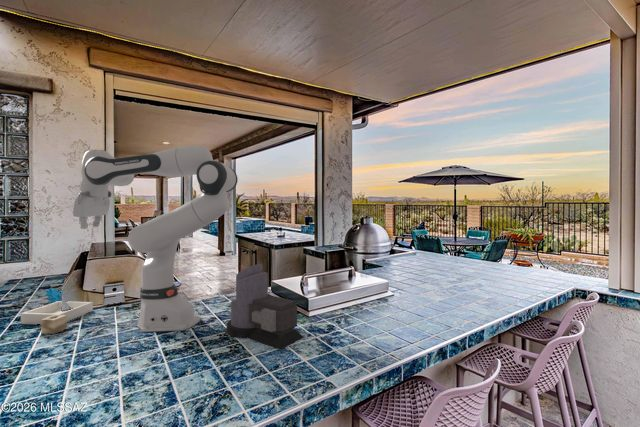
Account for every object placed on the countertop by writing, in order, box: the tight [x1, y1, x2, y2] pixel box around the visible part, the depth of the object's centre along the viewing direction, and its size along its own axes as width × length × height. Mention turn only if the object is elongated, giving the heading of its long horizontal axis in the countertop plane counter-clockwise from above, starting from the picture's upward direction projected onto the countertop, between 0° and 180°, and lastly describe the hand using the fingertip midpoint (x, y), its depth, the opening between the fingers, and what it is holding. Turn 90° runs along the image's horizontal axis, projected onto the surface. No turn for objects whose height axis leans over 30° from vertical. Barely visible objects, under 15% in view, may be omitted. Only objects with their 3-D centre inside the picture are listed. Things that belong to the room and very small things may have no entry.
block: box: [40, 315, 68, 335], centre depth 117 cm, size 5×5×5 cm
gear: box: [45, 287, 62, 305], centre depth 148 cm, size 11×6×10 cm
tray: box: [20, 300, 94, 326], centre depth 131 cm, size 16×16×4 cm
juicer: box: [222, 263, 304, 351], centre depth 114 cm, size 30×16×24 cm, turn 54°
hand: (90, 227), depth 125 cm, fingers open, 8 cm apart
